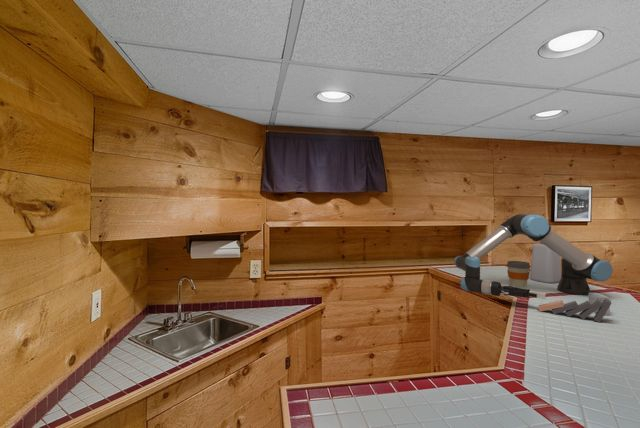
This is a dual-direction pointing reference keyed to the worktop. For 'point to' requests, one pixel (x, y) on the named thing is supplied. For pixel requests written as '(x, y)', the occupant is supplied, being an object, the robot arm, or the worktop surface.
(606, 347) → the worktop surface
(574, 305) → the domino
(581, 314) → the domino
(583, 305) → the domino
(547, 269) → the plastic bottle
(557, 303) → the terracotta domino
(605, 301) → the domino
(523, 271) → the reusable coffee cup
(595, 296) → the medicine box
